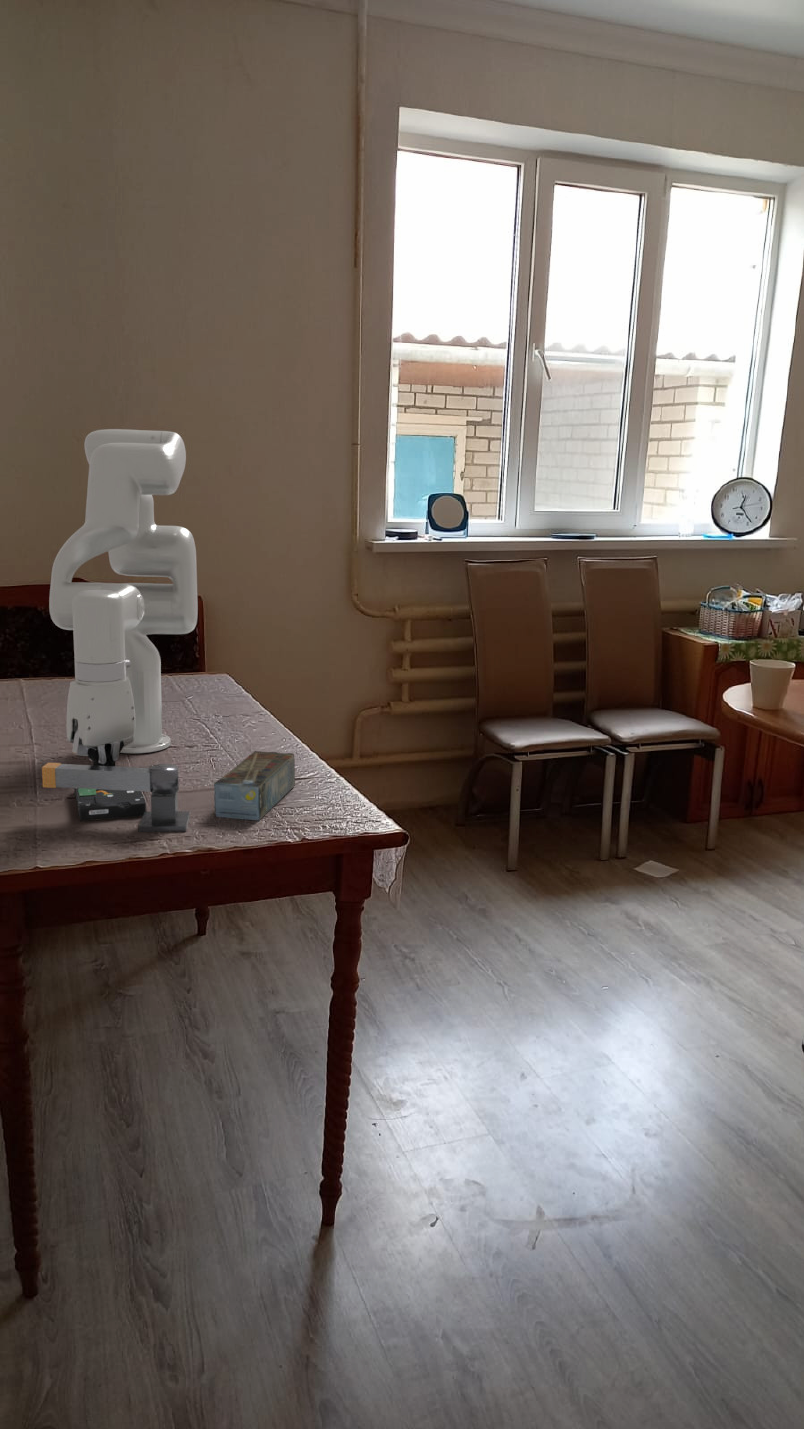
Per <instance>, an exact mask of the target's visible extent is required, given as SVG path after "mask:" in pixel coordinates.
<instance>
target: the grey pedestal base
mask: <svg viewBox="0 0 804 1429" xmlns="http://www.w3.org/2000/svg"><path fill="white" fill-rule="evenodd" d="M178 799H179V798H178V791H177V792H175V793H171V794H154V793H151V796H150V805H151V806H150V808H151V809H150V810H151V811H147V810H146V811H145V812H144V815H143V816H141V817H142V818H141V820H140V822H139V825H138V832H139V833H140V832H141V833H145V832H147V833H149V832H160V833H161V832H187V829H188V825H189V821H190V817H191V811H190V810H186V811H185V810H184V811H183V810H179V809H178V808H179V807H178V806H179V802H178Z"/></svg>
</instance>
